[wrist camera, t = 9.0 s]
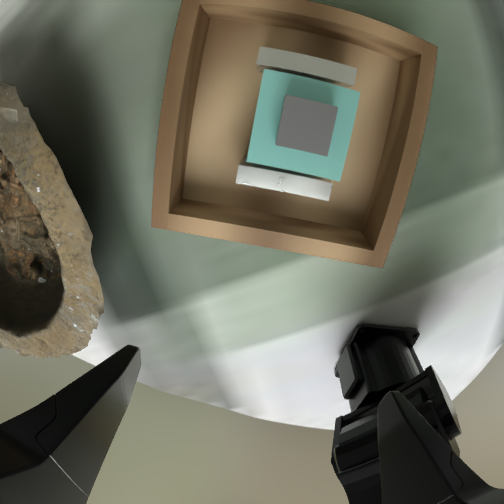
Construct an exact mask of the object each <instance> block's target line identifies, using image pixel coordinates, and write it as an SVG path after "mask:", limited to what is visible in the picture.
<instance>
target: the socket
mask: <svg viewBox="0 0 504 504" xmlns="http://www.w3.org/2000/svg"><path fill="white" fill-rule="evenodd" d="M256 64H257V68H258V72H259V73H263V71H264V69H268V70H273V71H279V72H284V73H289V74H294V75H298V76H303V77H307V78H311V79H315V80H319V81H323V82H327V83H331V84H335V85H338V86H342V87H345V88H349V87H352V86H354V84H355V79H356V73H357V68H354V67H351V66H347V65H344V64H340V63H337V62H333V61H329V60H325V59H321V58H317V57H313V56H309V55H304V54H300V53H295V52H290V51H284V50H279V49H273V48H267V47H260V48H259V53H258V58H257V63H256ZM246 161H247V157H243V158H242V160H241V162H240V163H239V165H238V171H237V178H236V183H237V184H243V185H249V186H255V187H260V188H266V189H271V190H277V191H282V192H287V193H292V194H297V195H302V196H307V197H312V198H316V199H321V200H326V201H329V197H330V193H331V189H332V185H333V183H332V182H331V181H330V179H327V178H323V177H318V176H314V175H310V174H305V173H301V172H296V171H291V170H286V169H282V168H277V167H272V166H266V165H261V164H256V163H250V162H246Z"/></svg>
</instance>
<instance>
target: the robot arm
mask: <svg viewBox="0 0 504 504" xmlns="http://www.w3.org/2000/svg"><path fill="white" fill-rule="evenodd" d="M361 329H363V330H361ZM419 335H420V333H419V331H418V330H417V329H414V328H403V327H392V326H382V325H373V324H364V323H363V324H359V325H358V326H357V327H356V329H355V331H354V334H353V336H352V338H351V340H350V342H349V344H347V345H346V347H345V349H344V351H343V353H342V355H341V357H340V359H339V361H338V363H337V368H336V369H335V376H336V377H338V378H340V383H341V388H342V393H343V397H344V398H345V399H349V403H350V409H351V413H349V414H346V415H344V416H340V417H338V418H336V422H335V431H334V439H333V447H332V458H331V463H332V465H333V468H334V471H335V473H336V475H337V477H338V479H339V480H340V482H341V484H342V485H343V487H344V489H345V492H346V494H347V497H348V500H349V504H504V489H498V488H494V487H491V486H489V485H488V484H487V483H486V482H485V481H483V480H482V479H481V478H480V477H479V476H478V475H477V474H476V473H475V472H474V471H473V470H471V469H470V468H469V467H468V466H467V465H466V464H465V463H464V462H463V461H462V460H461V459H460V457H459V456H460V450H459V447H458V445H457V442H456V439H455V437H457V436H458V435H460V434H461V429H460V425H459V421H458V418H457V415H456V411H455V408H454V406H453V404H452V401H451V399H450V397H449V395H448V393H447V391H446V389H445V387H444V385H443V383H442V382H441V380H440V378H439V377H438V375H437V374H436V372H435V371H434V369H433V367H432V366H431V365H430V366H429V367H427V368H426V369H425V371H424V370H423V368H422V366H421V364H420V362H419V360H418V357H417V355H416V353H415V351H414V349H413V345H414V344H415V342H416V340H417V339H418V337H419ZM140 367H141V357H140V349H139V348H138V347H136V346H132V345H127V346H125V347H124V348H122V349H121V350H119V351H118V352H116V353H115V354H113V355H112V356H110V357H109V358H107V359H106V360H105V361H103V362H102V363H100V364H99V365H97V366H96V367H94V368H93V369H91V370H90V371H88V372H87V373H85V374H84V375H83V376H81V377H79V378H78V379H77V380H75V381H73V382H72V383H70V384H69V385H68V386H66V387H65V388H63V389H62V390H60V391H59V392H57V393H56V395H53V396H51V397H50V398H48V399H47V400H45V401H43V402H42V403H40V404H39V405H37V406H35V407H33V408H32V409H30V410H28V411H26V412H24V413H22V414H20V415H18V416H16V417H14V418H12V419H10V420H8V421H6V422H4V423H2V424H0V504H86V502H87V500H88V497H89V495H90V492H91V489H92V487H93V485H94V482H95V480H96V477H97V475H98V473H99V471H100V468H101V466H102V463H103V461H104V459H105V456H106V454H107V452H108V449H109V447H110V445H111V443H112V440H113V438H114V436H115V433H116V431H117V429H118V427H119V425H120V422H121V420H122V418H123V416H124V414H125V411H126V409H127V407H128V404H129V401H130V398H131V395H132V392H133V389H134V386H135V383H136V380H137V377H138V374H139V371H140Z"/></svg>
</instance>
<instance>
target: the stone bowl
mask: <svg viewBox="0 0 504 504" xmlns="http://www.w3.org/2000/svg"><path fill="white" fill-rule="evenodd" d="M92 239H93V235H92V233H91V230H90V228H89V226H88V223H87V221H86V219H85V217H84V215H83V213H82V211H81V209H80V207H79V205H78V202H77V201H76V199H75V197H74V195H73V193H72V190H71V189H70V187H69V185H68V184H67V181H66V179H65V176H64V173H63V171H62V169H61V167H60V165H59V163H58V161H57V158H56V156H55V155H54V153H53V152H52V150H51V149H50V148H49V147H48V146H47V145H46V144H45V143H44V141H43V138H42V136H41V135H40V133H39V131H38V128H37V126H36V124H35V122H34V121H33V120H32V118H31V116H30V114H29V109H28V108H27V107H24V106H23V104H22V102H21V101H20V99H19V96H18V93H17V89H16V87H15V86H13V85H10V84H7V83H4V82H1V81H0V343H1V344H2V345H4V346H5V347H7V348H9V349H12V350H14V351H15V352H16V353H18V354H20V355H23V356H27V355H28V356H29V355H32V356H33V357H40V358H48V357H55V358H58V357H61V356H62V355H69V354H73V353H75V352H78V351H81V350H82V349H84V348H85V347H87V346H88V342H89V340H90V339H91V337H90V335H89V334H92V329H97V326H98V320H99V318H100V315H101V314H102V313H104V307H103V304H104V299H103V294H102V289H101V284H100V281H99V276H98V274H97V272H96V270H95V267H94V265H93V260H92V255H91V244H92ZM39 277H42V278H43V279H46V281H45V283H39V282H38V278H39Z"/></svg>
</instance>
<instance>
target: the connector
mask: <svg viewBox="0 0 504 504" xmlns="http://www.w3.org/2000/svg"><path fill="white" fill-rule="evenodd" d="M359 97H360V92H358V91H355V90H352V89H348V88H345V87H342V86H338V85H335V84H331V83H327V82H323V81H319V80H315V79H311V78H307V77H303V76H298V75H294V74H289V73H284V72H279V71H273V70H268V69H264V71H263V76H262V81H261V87H260V92H259V97H258V102H257V107H256V113H255V118H254V123H253V128H252V134H251V139H250V145H249V150H248V156H247V161H246V162H250V163H256V164H261V165H266V166H272V167H277V168H282V169H286V170H291V171H296V172H301V173H305V174H310V175H314V176H318V177H323V178H327V179H331V180H335V181H339V182H340V179H341V176H342V172H343V168H344V164H345V160H346V155H347V151H348V147H349V143H350V139H351V134H352V130H353V125H354V121H355V116H356V112H357V107H358V102H359Z"/></svg>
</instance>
